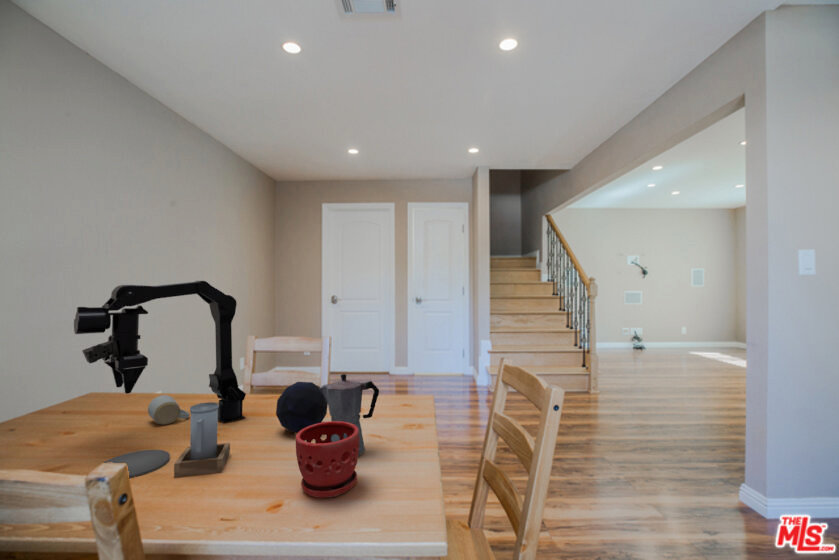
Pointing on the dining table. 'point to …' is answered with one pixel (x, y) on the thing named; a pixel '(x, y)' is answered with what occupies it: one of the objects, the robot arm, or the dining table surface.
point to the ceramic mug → (165, 410)
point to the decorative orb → (301, 406)
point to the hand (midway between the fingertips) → (123, 390)
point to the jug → (204, 431)
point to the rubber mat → (142, 461)
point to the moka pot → (348, 403)
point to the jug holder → (201, 462)
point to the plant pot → (327, 458)
